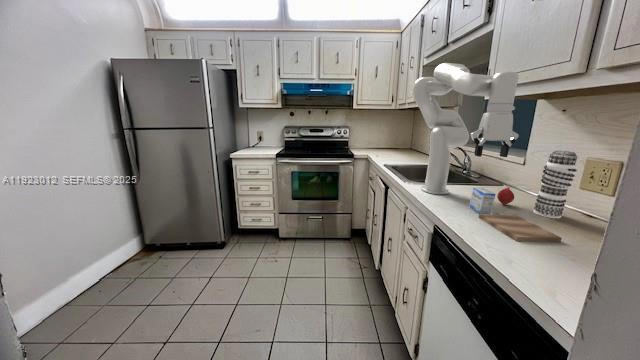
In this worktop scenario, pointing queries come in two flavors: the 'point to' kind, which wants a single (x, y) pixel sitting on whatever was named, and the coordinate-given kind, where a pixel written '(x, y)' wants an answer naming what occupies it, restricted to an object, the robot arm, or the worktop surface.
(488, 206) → the medicine box
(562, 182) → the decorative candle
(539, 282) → the worktop surface
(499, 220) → the cutting board
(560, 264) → the worktop surface
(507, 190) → the red oval piece
